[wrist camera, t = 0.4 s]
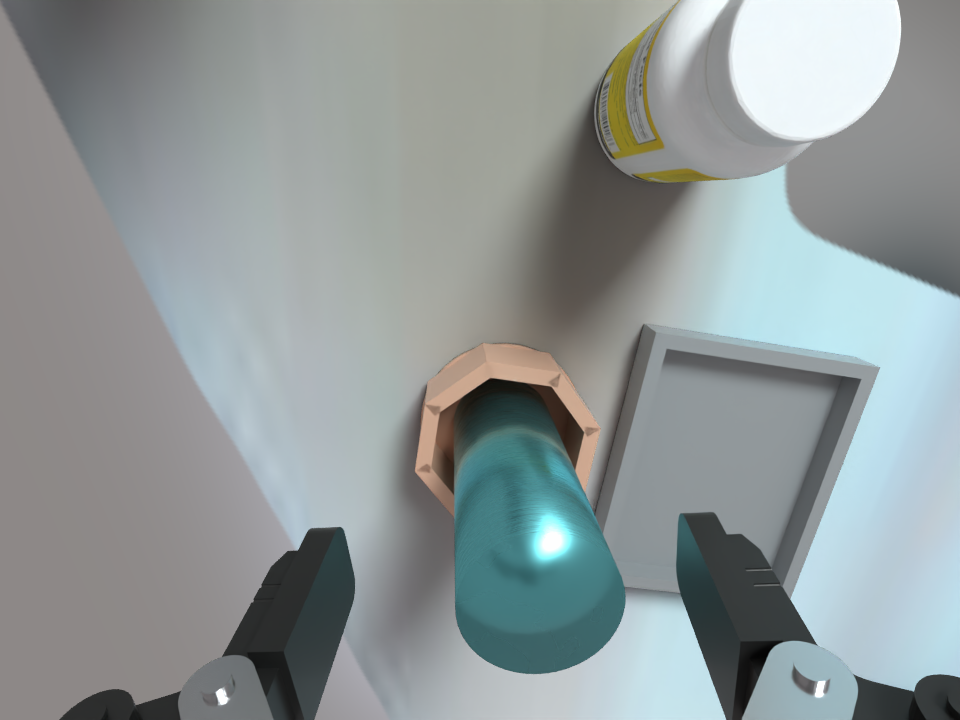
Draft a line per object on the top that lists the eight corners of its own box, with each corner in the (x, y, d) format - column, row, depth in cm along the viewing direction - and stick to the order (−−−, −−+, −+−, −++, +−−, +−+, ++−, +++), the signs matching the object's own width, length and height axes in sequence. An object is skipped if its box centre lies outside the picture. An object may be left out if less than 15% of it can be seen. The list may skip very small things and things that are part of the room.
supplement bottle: (757, 100, 29) (983, 36, 17) (659, 211, 30) (802, 227, 18) (659, -3, 27) (831, -160, 15) (562, 118, 29) (644, 67, 16)
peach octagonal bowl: (433, 331, 32) (430, 351, 28) (595, 356, 32) (614, 378, 29) (411, 480, 34) (405, 517, 30) (561, 499, 35) (575, 537, 31)
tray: (644, 323, 32) (656, 332, 30) (855, 357, 33) (880, 367, 31) (582, 562, 36) (589, 582, 35) (770, 583, 38) (787, 604, 36)
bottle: (461, 371, 32) (470, 521, 17) (558, 385, 32) (643, 542, 18) (446, 460, 33) (443, 665, 19) (539, 472, 34) (603, 681, 20)
